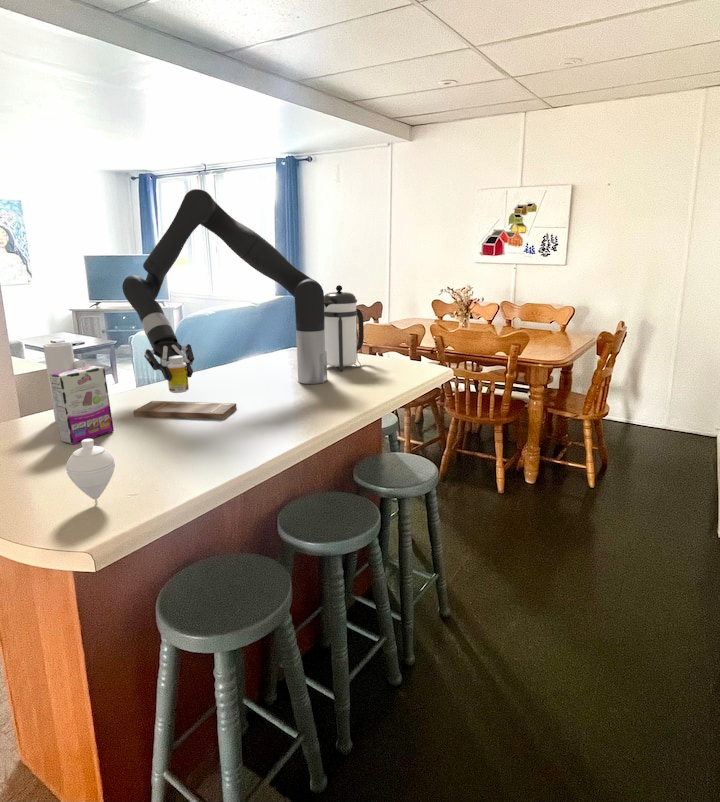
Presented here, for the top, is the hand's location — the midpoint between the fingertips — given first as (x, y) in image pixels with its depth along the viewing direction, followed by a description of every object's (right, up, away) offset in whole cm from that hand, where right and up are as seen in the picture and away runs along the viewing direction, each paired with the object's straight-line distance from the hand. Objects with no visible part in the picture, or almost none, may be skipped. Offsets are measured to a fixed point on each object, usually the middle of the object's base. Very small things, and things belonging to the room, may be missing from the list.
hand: (180, 377), depth 164 cm
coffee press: (+45, +6, +48) cm, 66 cm away
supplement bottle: (-1, -4, +2) cm, 5 cm away
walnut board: (+4, -10, -8) cm, 14 cm away
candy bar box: (-14, -16, -27) cm, 34 cm away
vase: (-23, -12, -14) cm, 30 cm away
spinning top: (+5, -25, -63) cm, 68 cm away
